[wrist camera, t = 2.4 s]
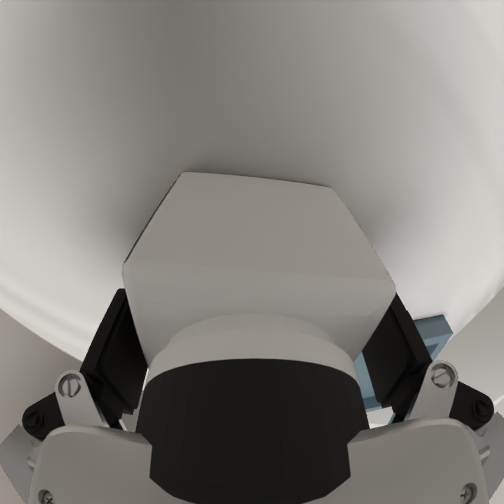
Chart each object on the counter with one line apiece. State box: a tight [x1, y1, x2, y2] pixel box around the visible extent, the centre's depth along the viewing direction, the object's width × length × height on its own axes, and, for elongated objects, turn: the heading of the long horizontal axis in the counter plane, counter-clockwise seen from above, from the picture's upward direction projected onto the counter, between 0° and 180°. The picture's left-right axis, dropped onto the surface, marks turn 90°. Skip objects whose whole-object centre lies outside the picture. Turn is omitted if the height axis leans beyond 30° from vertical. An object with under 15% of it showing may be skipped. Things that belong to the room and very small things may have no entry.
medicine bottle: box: [122, 172, 396, 504], centre depth 9 cm, size 7×7×12 cm
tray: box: [353, 315, 453, 412], centre depth 21 cm, size 13×13×2 cm
